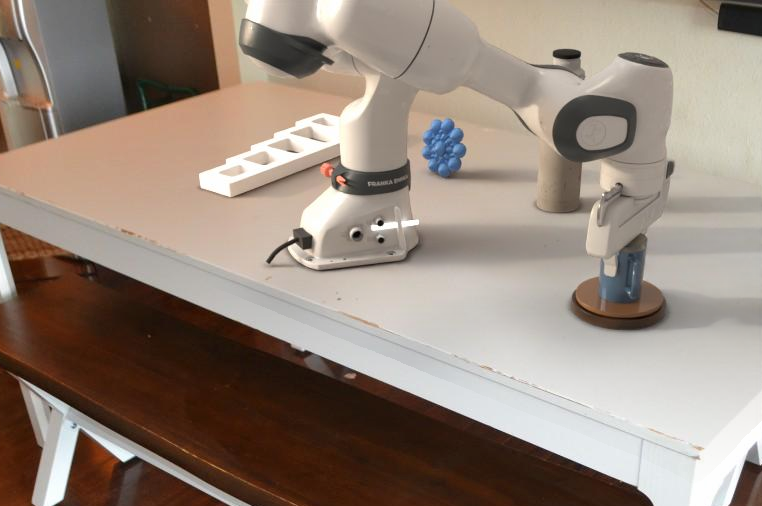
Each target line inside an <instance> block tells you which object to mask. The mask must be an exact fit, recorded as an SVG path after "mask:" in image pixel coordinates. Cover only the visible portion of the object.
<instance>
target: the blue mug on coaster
mask: <svg viewBox="0 0 762 506" xmlns="http://www.w3.org/2000/svg"><path fill="white" fill-rule="evenodd" d="M648 241H649V240H648V237H647V235H646V236H645V235H644V234H642V233H641V234H639V235H638V236H637V237H636V238H634V239H633V240H632V241H631V242H630V243H628V244H627V245H626V246H625V247H623V248H622V249H621V250H620V251H619V255H618V256H617V259H618V262H619V263H620V268H619V273H617V274H616V275H615V276H614V277H611V276H607V275H605V274H604V266H605V264H604V261H603V259H602V258H600V264H599V276H595V277H591V278H588V279H586V280H584V281H582V282H581V283H580V284H578V286H577V287H576V289H575V290H576V300H577V301H578V303H579V304H580V305H581V306H583V307H584V308H586V309H587V310H589V311H592V312H594V313H597V314H600V315H604V316H610V317H618V318H633V317H641V316H645V315H649V314H651V313H653V312H655V311H657V310H658V309H659V308H660V307H661V306H662V304H663V296H664V294H663V292H662V291H661V289H660V288H659V287H657V286H656V285H655V284H653V283H651V282H649V281H647V280H645V279H644V273H645V265H646V257H647V249H648V248H647V247H648Z"/></svg>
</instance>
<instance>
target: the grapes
mask: <svg viewBox="0 0 762 506" xmlns="http://www.w3.org/2000/svg"><path fill="white" fill-rule="evenodd" d="M455 126H456V125H455V122H454V120H453V119H452V118H449V117H447V118H444V119H443V120H441V119H438V118H436V119H434V120H432V121H431V123H430V126H429V129H427V130H425V132H424V133H423V135H422V142H423V143H424V144H425V145H424V146H423V147H422V150H421V156H422V157H423V159H425V160H427V161H428V163H427V168H428V170H429V171H430V172H431V173H437V172H438V174H439V175H440V176H441V177H442V178H446V177H449V176H450V175H451V173H452V172H453V173H455V172H459V170H460V169H461V167H462V163H463V162H462V159H463V158H464V157H465V156H466V154H467V146H466V145H465V144H464V143H462V141H463V139H464V137H465V133H464V131H463V130H462V129H461V128H460V127H455Z"/></svg>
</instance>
